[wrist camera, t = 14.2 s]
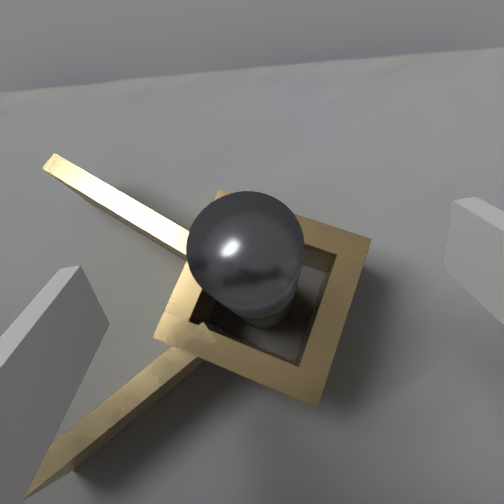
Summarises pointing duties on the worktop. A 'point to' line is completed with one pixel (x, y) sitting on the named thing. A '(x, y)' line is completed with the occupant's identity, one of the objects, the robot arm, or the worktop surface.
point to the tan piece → (206, 326)
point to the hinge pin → (248, 255)
